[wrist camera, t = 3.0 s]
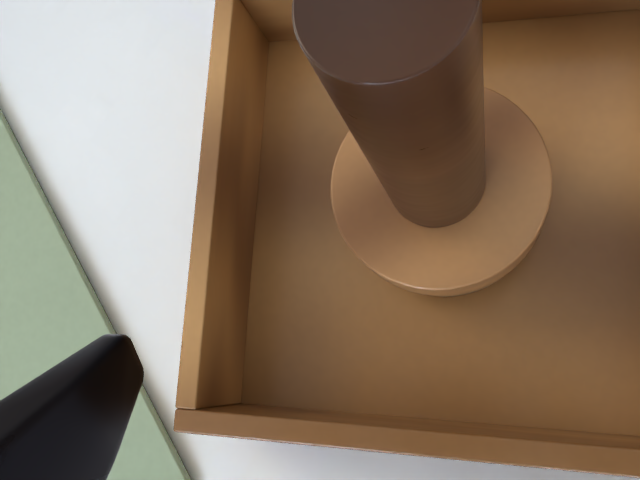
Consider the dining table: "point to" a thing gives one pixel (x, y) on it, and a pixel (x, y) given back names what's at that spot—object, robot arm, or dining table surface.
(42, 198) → the mat
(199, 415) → the tray
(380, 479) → the dining table surface
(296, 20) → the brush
